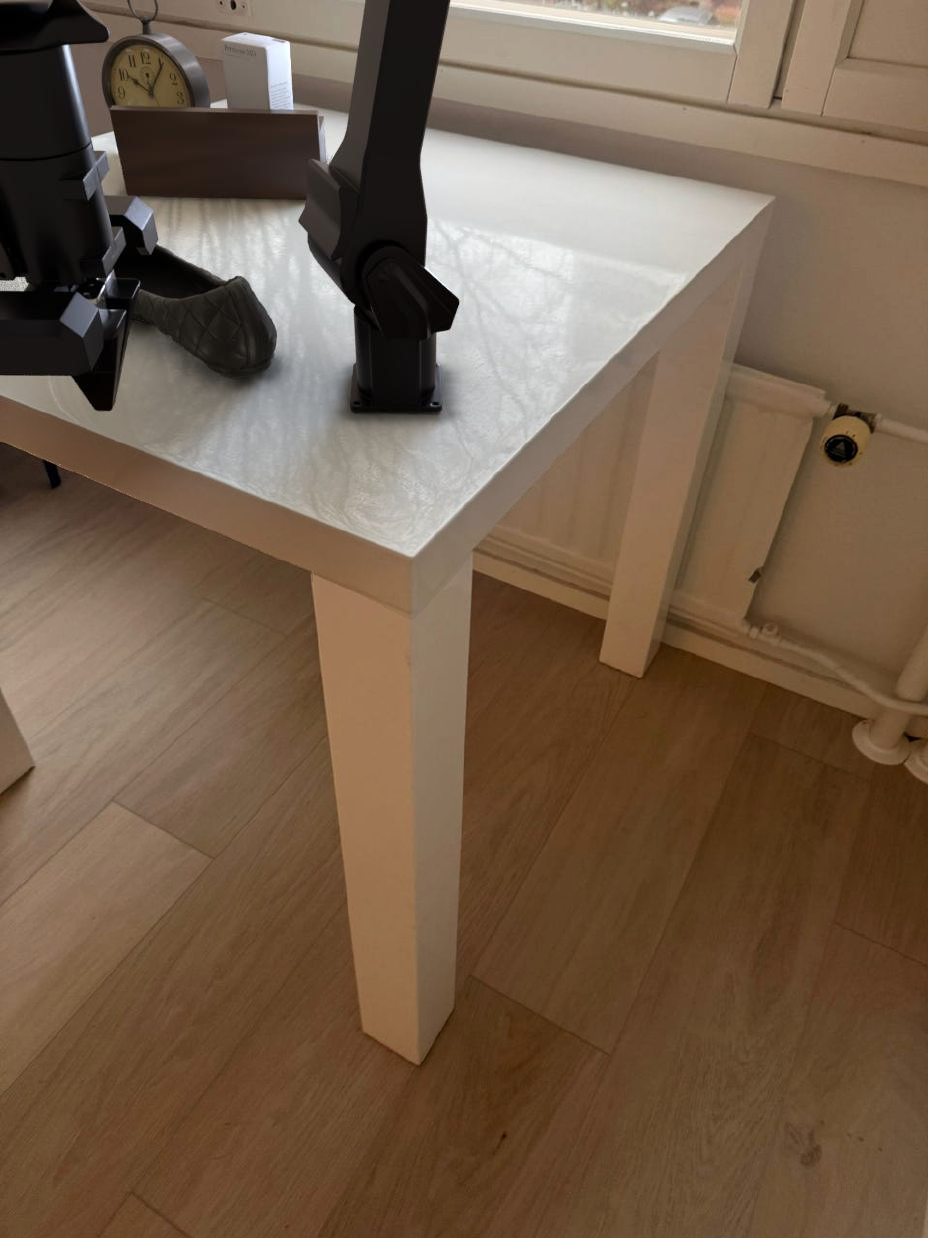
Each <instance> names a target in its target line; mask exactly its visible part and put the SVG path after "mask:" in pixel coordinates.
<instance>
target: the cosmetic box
mask: <svg viewBox="0 0 928 1238" xmlns="http://www.w3.org/2000/svg"><path fill="white" fill-rule="evenodd" d="M220 50H221V58H222V68H223V76H224V77H223V78H224V85H225V96H226V108H240V109H282V110H294V101H293V82H292V81H293V80H292V68H291V67H292V65H291V62H292V61H291V45H290V41H287V40H284V39H279V38H276V37H272V36H268V35H261V34H256V33H251V32H246V31H245V32H240V33H237V34H233V35H230V36H226V37H224V38H221V39H220Z"/></svg>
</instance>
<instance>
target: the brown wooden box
mask: <svg viewBox="0 0 928 1238" xmlns="http://www.w3.org/2000/svg"><path fill="white" fill-rule="evenodd" d="M108 111H110V112H109V116H110V121H111V124H112V130H113V134H114V135H113V136H114V140H115V144H116V149H117V154H118V159H119V164H120V169H121V172H122V177H123V183H124V188H125V192H126V196H136V197H165V198H166V197H173V198H174V197H175V198H176V197H177V198H227V199H275V200H276V199H278V200H279V199H280V200H284V199H285V200H306V199H307V167H308V161H309V160H310V159H315V160H317V161H320V162H323V163H326V164H328V160H327V159H328V158H327V143H326V142H327V141H326V130H325V129H326V128H325V127H326V126H325V116H324V115H320V113H319V110H317V109H293V110H282V109H240V108H228V107H210V108H198V107H157V106H115V105H113V106H112V107H111V108H110V109H108Z"/></svg>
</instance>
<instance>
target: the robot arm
mask: <svg viewBox="0 0 928 1238" xmlns="http://www.w3.org/2000/svg"><path fill="white" fill-rule="evenodd" d="M451 2H452V1H451V0H364V7H363V15H362V22H361V28H360V34H359V35H360V36H359V42H358V48H357V56H356V62H355V68H354V74H353V75H354V76H353V83H352V88H351V89H352V90H351V96H350V104H349V110H348V117H347V124H346V128H345V129H346V130H345V133H344V135H343V136H344V137H343V139H342V141H341V143H340V144H339V146H338V148H337V150H336V152H335V153H334V155H333V157H332V159H331V160H330V162H329V163H327V164H326V163H323V162H320V161H317V160H315V159H310V160H309V161H308V167H307V199H305V204H304V207H303V210H302V211H301V213H300V216H299V217H298V220H297V222H298V224H299V225H300V226H301V227H302V228H303V230H305V232H306V235H307V239H306V240H307V245H308V249H309V251H310V254H311V255H312V257H313V258H314V260H315V261H316V262H317V264H318V265H319V267H321V269H322V270H323V272H325V273H326V275H327V276H328V277H329V278H330V280H331V281H332V282H333V283H334V284H335V286H337V288H338V289H339V290H340V291H341V292H342V294H343V295H344V296H345V298H347V300H348V301H349V302H350V303H351V304H353V305H354V306H353V309H352V311H353V312H352V313H353V328H354V330H353V331H354V348H355V349H354V350H355V362H354V363H353V366H352V375H351V386H350V398H349V409H350V411H352V412H355V413H440V412H442V411H443V389H442V388H443V387H442V371H441V369H442V367H441V364H440V363H437V336H438V335H437V333H440V332H441V333H442V332H447V331H450V330H451V329H452V327H453V323H454V320H455V318H456V315H457V312H458V310H459V306H460V302H461V301H460V298H459V297H457V295H455V293H453V292H452V290H451V289H449V288H448V287H447V286H446V285H445V284H444V283H443V282H442V281H441V280H440V279H439V278H438V277H437V276H436V275H435V274H434V273H433V272H432V271H431V270H429V268H428V267H427V266H426V262H427V244H428V225H429V224H428V223H429V221H428V220H429V219H428V210H427V204H426V196H425V189H424V181H423V175H422V174H423V173H422V167H421V161H422V160H421V159H422V150H423V146H424V140H425V136H426V131H427V125H428V120H429V115H430V109H431V105H432V104H431V103H432V99H433V93H434V88H435V83H436V77H437V73H438V68H439V63H440V57H441V52H442V47H443V43H444V42H443V41H444V36H445V32H446V26H447V21H448V17H449V16H448V15H449V11H450V6H451ZM110 34H111V33H110V30H109V28H108V27H107V26H106V25H105V23H104V22H103V20H102V19H101V18H100V17H99V16H98V14H97V13H96V12H94V11H93V10H91V9H90V8H88V7H87V6H86V5H84V4H83V3H81V2H80V0H0V282H1V281H3V282H5V281H7V282H11V281H15V280H16V279H17V278H24V279H25V282H26V283H27V285H26V287H25V289H24V290H0V376H1V377H2V376H3V377H5V376H6V377H7V376H9V377H11V376H13V377H15V376H18V377H71V379H72V380H73V381H74V382H75V384H76V386H77V387H78V388H79V390H80V392H81V393H82V395H83V396H84V397H85V399H86V400H87V401H88V403H89V404H90V406H91V407H92V409H93V410H95V411H96V412H111V411H113V409H114V407H115V404H116V400H117V397H118V396H117V395H118V390H119V386H120V380H121V377H122V370H123V367H124V366H123V365H124V361H125V356H126V351H127V347H128V341H129V337H130V332H131V328H132V323H133V320H134V319H133V314H134V310H135V305H136V301H137V296H138V292H139V290H140V281H139V280H138V279H134V278H116V277H115V273H114V269H113V266H114V264H115V263H116V261H117V259H118V257H119V256H120V254H121V252H122V250H123V249H124V247H125V245H126V242H125V240H126V239H134V240H135V245H136V248H137V249H138V251H139V252H140V254H141V255H151V253H152V251H153V249H154V248H155V246H156V244H158V242H159V240H160V239H159V234H158V229H157V224H156V220H155V214H154V210H153V209H152V208H150V207H149V206H148V205H147V204H146V203H145V202H144V201H142V200H141V199H140V198H139V196H127V195H117V194H116V195H115V194H113V195H112V194H111V195H109V194H105V192H104V187H103V184H102V182H103V180H104V179H105V178H106V176H107V175H108V173H109V172H110V170H111V169H110V165H109V161H108V156H107V151H106V150H95V148H94V144H93V139H92V137H91V132H90V127H89V123H88V119H87V118H88V117H87V115H86V109H85V105H84V101H83V98H82V93H81V88H80V84H79V79H78V74H77V71H76V66H75V62H74V57H73V52H72V49H71V45H72V46H73V45H89V44H90V45H91V44H104V43H107V42H108V41H109V39H110V36H111V35H110Z"/></svg>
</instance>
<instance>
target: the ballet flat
mask: <svg viewBox="0 0 928 1238" xmlns="http://www.w3.org/2000/svg"><path fill="white" fill-rule="evenodd" d="M125 242H126V245H125V247H124V249H123V250H122V252H121V254H120V256H119V257H118V259H117V261H116V263H115V264H114V266H113V269H114V273H115V277H116V278H134V279H138V280H139V281H140V290H139V292H138V296H137V301H136V305H135V310H134V314H133V319H132V320H135V321H140V322H146V323H148V324H150V325H151V326H154V327H156V328H157V329H159V331H160V333H163V334H164V335H166V336H168V337H170V338H171V339H172V341H174V342H175V343H176V345H178V346H180V347H182V348H183V349H184V350H185V351H186V352H188V353H189V354H191V356H193V357H195V358H196V359H198V360H200V361H201V362H203V363H204V364H205V365H206V366H207V367H208V368H209V370H211V371H212V372H214V373H216V374H217V375H220V376H222V377H228V378H235V379H236V378H237V379H238V378H239V379H242V378H247V377H252V376H256V375H259V374H261V373H263V372H265V371H266V370H268V368H269V367H271V365H272V362H273V361H272V360H273V359H274V358H275V351H276V347H277V342H278V341H277V340H278V332H277V328H276V326H275V323H274V321H273V319H272V317H271V316H270V315H269V313H268V311H267V309H266V307H265V306H264V305H263V303H262V302H261V301H260V300H259V298H258V297H257V294H256V293H255V291H254V290H253V288H252V286H251V284H250V282H249V281H248V279H246V277H245V276H242V275H235V276H234V277H231V278H228V280H224V279H223V278H221V277H220V276H218V275H216V274H213V273H211V271H209V270H207V269H205V268H203V267H201V266H200V267H199V266H197V265H196V264H193V263H192V262H189V261H187V260H185V259H184V258H183V257H180V256H178V255H176V254H175V253H174V252H173V251H171V250H170V249H168V248H166V247H164V246H162V245H159V244H158V243H157V244H156V246H155V248H154V249H153V251H152V253H151V255H141V254H140V252H139V251H138V249H137V248H136V245H135V240H134V239H126V240H125Z"/></svg>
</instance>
